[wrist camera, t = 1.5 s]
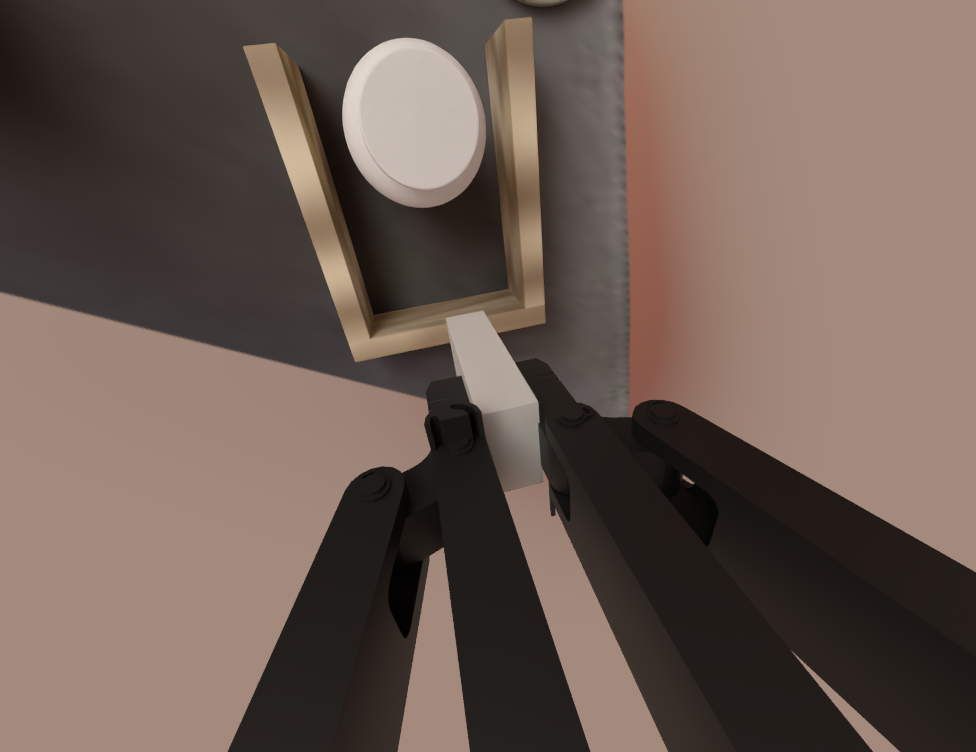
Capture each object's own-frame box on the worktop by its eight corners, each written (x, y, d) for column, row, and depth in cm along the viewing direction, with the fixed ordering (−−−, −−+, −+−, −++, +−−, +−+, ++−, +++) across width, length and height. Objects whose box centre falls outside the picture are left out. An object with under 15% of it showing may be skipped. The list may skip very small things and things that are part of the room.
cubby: (272, 68, 22) (242, 46, 18) (507, 43, 24) (531, 16, 19) (360, 334, 31) (355, 362, 27) (526, 302, 33) (545, 322, 29)
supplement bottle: (474, 114, 25) (535, 79, 14) (438, 211, 28) (466, 242, 17) (377, 55, 23) (360, -44, 12) (346, 167, 25) (310, 170, 14)
